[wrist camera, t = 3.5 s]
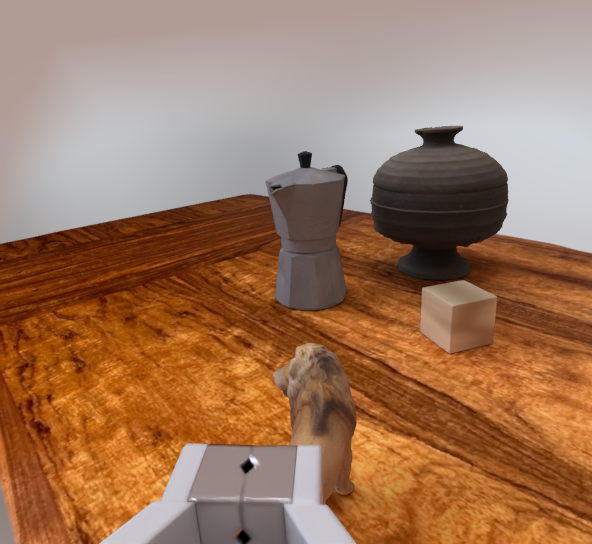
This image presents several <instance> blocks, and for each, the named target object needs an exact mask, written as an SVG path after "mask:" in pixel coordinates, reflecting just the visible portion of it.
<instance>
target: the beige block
mask: <svg viewBox="0 0 592 544" xmlns="http://www.w3.org/2000/svg"><path fill="white" fill-rule="evenodd" d="M496 305H497V296H495V295H493V294H491V293H489V292H487V291H485V290H483V289H480V288H478V287H476V286H474V285H472V284H470V283H468V282H466V281H464V280H461V281H456V282H451V283H445V284H440V285H435V286H429V287H424V288H422V304H421V326H420V332H421V333H423V334H424V335H425V336H427V337H428V338H429V339H431V340H432V341H433V342H435V343H436V344H437V345H438V346H440V347H441V348H442V349H444V350H445V351H446V352H448V353H449V354H450V353H455V352H459V351H463V350H467V349H471V348H476V347H480V346H484V345H488V344H492V343H493V334H494V324H495V315H496Z"/></svg>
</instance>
